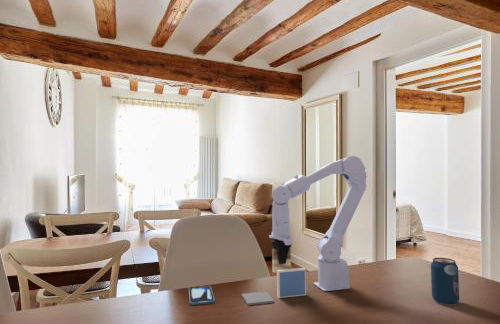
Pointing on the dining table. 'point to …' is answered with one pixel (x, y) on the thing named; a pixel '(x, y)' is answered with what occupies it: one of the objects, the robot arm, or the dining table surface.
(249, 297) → the mat
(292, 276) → the tile
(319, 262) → the robot arm
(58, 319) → the dining table surface
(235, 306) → the dining table surface
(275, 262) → the stepped beige block
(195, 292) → the smartphone
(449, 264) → the soda can
